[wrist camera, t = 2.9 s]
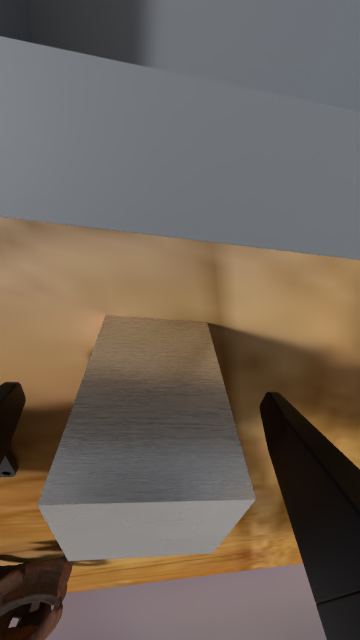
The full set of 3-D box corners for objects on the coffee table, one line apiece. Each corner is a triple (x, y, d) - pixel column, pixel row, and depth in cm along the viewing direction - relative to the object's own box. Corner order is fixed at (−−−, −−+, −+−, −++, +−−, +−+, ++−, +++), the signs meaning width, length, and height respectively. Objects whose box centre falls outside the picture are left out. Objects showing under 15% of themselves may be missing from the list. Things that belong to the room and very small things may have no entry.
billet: (191, 387, 12) (212, 553, 7) (109, 384, 11) (68, 561, 6) (207, 322, 9) (255, 500, 5) (105, 314, 9) (37, 505, 4)
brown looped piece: (-40, 544, 25) (-81, 659, 18) (54, 489, 28) (51, 566, 21) (15, 601, 29) (-1, 713, 22) (91, 547, 32) (100, 628, 25)
